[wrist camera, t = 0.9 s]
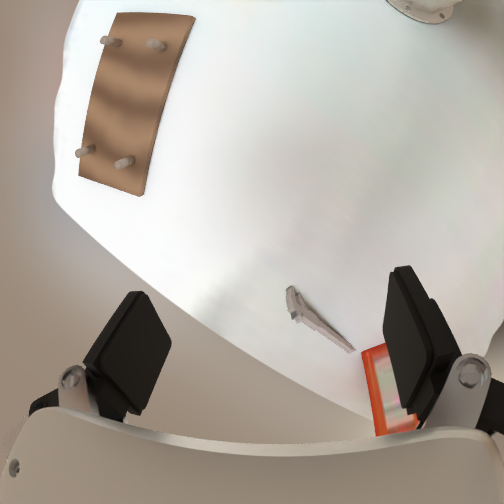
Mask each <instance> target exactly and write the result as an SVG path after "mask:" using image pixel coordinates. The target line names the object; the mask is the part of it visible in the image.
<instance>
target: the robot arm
mask: <svg viewBox="0 0 504 504" xmlns="http://www.w3.org/2000/svg"><path fill="white" fill-rule="evenodd" d="M387 1H388V2H389V3H390V4H391V5H392V6H394V7H395V8H396V9H398V10H399V11H401V12H402V13H404V14H405V15H407V16H409V17H411V18H413V19H415V20H418V21H421V22H425V23H430V24H436V23H441V22H444V21H446V20H447V19H449V18H450V17H451V15H452V13H453V9H454V4H456V3H458V2H460V1H463V0H387ZM383 335H384V339H385V342H386V346H387V349H388V353H389V357H390V361H391V365H392V369H393V373H394V377H395V381H396V385H397V390H398V394H399V399H400V404H401V407H402V409H405V408H406V411H407V415H411V414H415V413H416V416H417V420H419V423H418V424H417V426H416V428H415V430H411V431H406V432H400V433H394V434H388V435H383V436H377V437H371V438H364V439H356V440H347V441H338V442H327V443H313V444H248V443H233V442H221V441H212V440H204V439H197V438H190V437H184V436H178V435H173V434H167V433H163V432H158V431H153V430H148V429H144V428H140V427H136V426H132V425H129V422H128V419H127V416H126V413H127V411H128V412H129V413H131V414H135V415H139V416H140V415H141V412H142V410H143V409H145V407H146V406H147V403H148V401H149V398H150V396H151V393H152V391H153V389H154V386H155V384H156V381H157V379H158V376H159V374H160V372H161V369H162V367H163V365H164V362H165V359H166V357H167V355H168V353H169V350H170V348H171V339H170V337H169V335H168V333H167V331H166V329H165V328H164V326H163V324H162V322H161V320H160V318H159V316H158V314H157V312H156V310H155V308H154V306H153V305H152V303H151V301H150V299H149V297H148V295H146V294H145V293H144V292H143V291H132V292H129V293H128V294H127V296H126V297H125V298H124V300H123V301H122V303H121V304H120V305H119V307H118V308H117V310H116V311H115V313H114V314H113V316H112V317H111V319H110V320H109V321H108V323H107V324H106V326H105V327H104V329H103V331H102V332H101V334H100V335H99V337H98V338H97V340H96V341H95V343H94V344H93V346H92V347H91V349H90V351H89V352H88V354H87V355H86V357H85V359H84V361H83V363H84V365H85V366H86V369H85V370H84V368H82V366H79V365H74V366H71V367H69V368H67V369H66V370H65V371H64V372H63V373H62V375H61V376H60V378H59V382H58V388H57V389H55V390H54V391H52V392H50V393H48V394H46V395H44V396H42V397H40V398H38V399H37V400H35V401H34V402H33V403H32V404H31V406H30V410H29V415H28V414H27V415H26V416H25V417H24V418H23V419H22V420H20V421H19V422H18V423H17V424H16V425H15V426H14V427H13V428H12V429H11V430H10V431H9V432H7V434H6V435H5V437H4V441H3V445H4V449H5V453H6V456H7V459H8V460H7V462H6V465H5V468H4V470H3V473H2V476H1V479H0V504H504V383H502V382H500V381H498V380H495V379H493V378H491V374H492V373H491V368H490V366H489V364H488V362H487V361H486V360H485V359H484V358H483V357H481V356H479V355H477V354H472V353H470V354H464V355H462V354H461V351H460V349H459V347H458V345H457V343H456V340H455V338H454V336H453V334H452V332H451V330H450V328H449V326H448V324H447V322H446V320H445V318H444V316H443V314H442V312H441V310H440V308H439V307H438V305H437V303H436V301H435V300H434V299H432V298H431V299H429V297H428V295H427V293H426V291H425V290H424V288H423V286H422V284H421V282H420V281H419V279H418V277H417V276H416V274H415V272H414V270H413V269H412V267H411V266H409V265H408V266H401V267H396V268H395V269H394V272H390V275H389V284H388V293H387V301H386V308H385V315H384V321H383Z"/></svg>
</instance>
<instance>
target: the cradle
mask: <svg viewBox="0 0 504 504" xmlns="http://www.w3.org/2000/svg"><path fill="white" fill-rule="evenodd" d="M194 21H195V18H194V17H193V16H188V15H179V14H166V13H144V12H125V13H117V14H116V17H115V19H114V22H113V24H112V27H111V29H110V32H109V35H108V36H103V37H102V38H101V40H100V43H101V44H105V46H104V49H103V52H102V55H101V59H100V62H99V65H98V69H97V72H96V76H95V80H94V84H93V88H92V92H91V96H90V101H89V106H88V110H87V116H86V121H85V127H84V133H83V140H82V147H81V148H80V149H77V150H76V152H75V155H76V157H77V158H79V157H80V164H79V175H78V176H81V177H84V178H87V179H90V180H92V181H95V182H98V183H101V184H104V185H107V186H110V187H113V188H116V189H119V190H121V191H124V192H127V193H130V194H133V195H136V196H139V197H140V196H142V195H143V194H144V189H145V184H146V179H147V174H148V169H149V164H150V159H151V155H152V151H153V146H154V142H155V138H156V134H157V130H158V126H159V123H160V119H161V115H162V112H163V108H164V105H165V101H166V98H167V95H168V91H169V88H170V85H171V82H172V79H173V76H174V73H175V70H176V67H177V64H178V62H179V59H180V56H181V53H182V51H183V48H184V46H185V43H186V40H187V38H188V35H189V33H190V31H191V28H192V26H193V23H194Z"/></svg>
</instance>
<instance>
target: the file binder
mask: <svg viewBox="0 0 504 504" xmlns="http://www.w3.org/2000/svg"><path fill="white" fill-rule="evenodd" d="M361 354H362V359H363V364H364V368H365V373H366V379H367V384H368V389H369V395H370V401H371V407H372V413H373V419H374V426H375V433H376V437H377V436H383V435H388V434H394V433H400V432H406V431H411V430H415V428H416V426H417V424H418V423H419V420H417V416H416V413H415V414H411V415H407V411H406V408H405V409H402V407H401V404H400V399H399V394H398V390H397V385H396V381H395V377H394V373H393V369H392V365H391V361H390V357H389V353H388V349H387V346H386V343H384V344H381V345H379V346H376V347H373V348H371V349H368V350H365V351H363V352H362V353H361Z"/></svg>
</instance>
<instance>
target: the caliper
mask: <svg viewBox="0 0 504 504" xmlns="http://www.w3.org/2000/svg"><path fill="white" fill-rule="evenodd" d="M286 302H287V307H288V312H289V313H291V317H292V320H294V319H295V320H296V322H297V323H299V322H303V323H304V324H306V325H307V326H309V327H310V328H311V329H313V330H314V331H315V330H317V331H318V332H320V333H321V334H322V335H324V336H325V337H327V338H328V339H329V340H331V341H332V342H334V343H335V344H336V345H338V346H339V347H341V348H342V349H344V350H345V351H346V352H348V353H351V352H353V351H355V349H354V348H353V347H352V346H351V345H350V344H349V343H348V342H347V341H346V340H345V339H343V338H342V337H341V336H339V335H338V334H337V333H335V332H334V331H333V330H331V329H330V328H329V327H328V326H326V325H325V324H324V323H322V322H321V321H320V320H319V319H318V317H317V315H316V314H314V313H313V312H312V311H311V310H307V309H306V307H305V305H304V302H303V299H302V297H301V294H300V293H299V292H298V293H296V294H295V293H294V288H293V286H291V287H290V288H288V289H287V290H286Z"/></svg>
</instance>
